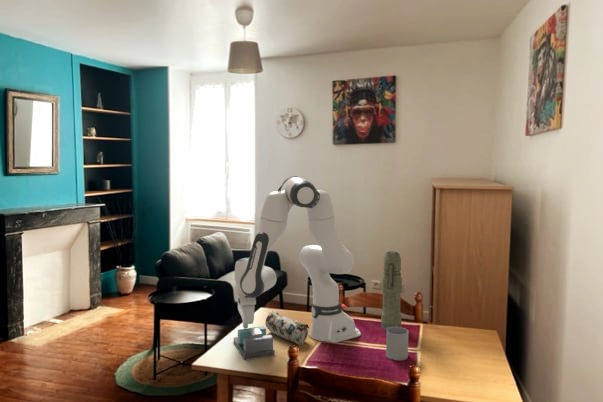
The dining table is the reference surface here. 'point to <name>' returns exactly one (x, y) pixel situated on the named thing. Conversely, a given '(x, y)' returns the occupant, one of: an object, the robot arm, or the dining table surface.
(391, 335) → the cup
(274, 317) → the pencil case
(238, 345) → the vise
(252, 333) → the steel block
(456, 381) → the dining table surface
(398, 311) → the grey-green stone column
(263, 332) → the bar
